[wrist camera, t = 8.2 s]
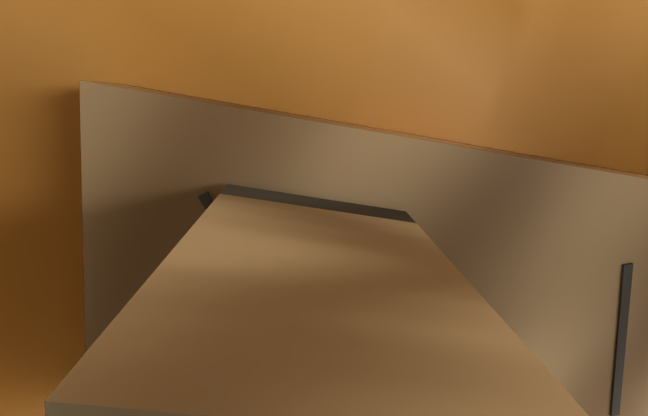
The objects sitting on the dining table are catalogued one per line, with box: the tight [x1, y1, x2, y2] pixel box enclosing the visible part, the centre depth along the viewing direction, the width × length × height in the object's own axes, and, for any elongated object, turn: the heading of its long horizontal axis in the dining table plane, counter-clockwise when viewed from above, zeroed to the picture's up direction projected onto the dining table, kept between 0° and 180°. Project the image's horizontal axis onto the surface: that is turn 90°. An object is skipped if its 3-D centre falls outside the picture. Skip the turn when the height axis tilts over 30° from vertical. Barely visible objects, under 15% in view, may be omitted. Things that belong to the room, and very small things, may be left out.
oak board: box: [79, 81, 648, 416], centre depth 10 cm, size 18×10×2 cm, turn 80°
